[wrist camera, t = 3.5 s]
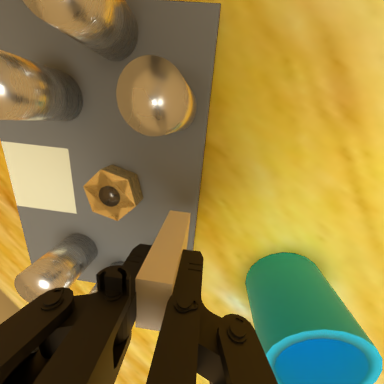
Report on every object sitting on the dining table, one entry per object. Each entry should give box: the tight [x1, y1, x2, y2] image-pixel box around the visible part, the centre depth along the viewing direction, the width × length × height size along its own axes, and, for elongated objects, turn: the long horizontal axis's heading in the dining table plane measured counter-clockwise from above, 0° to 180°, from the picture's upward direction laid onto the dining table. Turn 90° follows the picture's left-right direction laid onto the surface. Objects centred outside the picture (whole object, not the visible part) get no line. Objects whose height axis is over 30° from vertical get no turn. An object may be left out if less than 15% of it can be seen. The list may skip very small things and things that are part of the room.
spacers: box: [0, 0, 197, 321], centre depth 16 cm, size 28×14×6 cm, turn 175°
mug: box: [246, 252, 382, 384], centre depth 18 cm, size 12×8×8 cm
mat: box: [0, 0, 221, 283], centre depth 19 cm, size 28×20×1 cm
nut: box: [83, 165, 143, 221], centre depth 18 cm, size 5×4×2 cm
